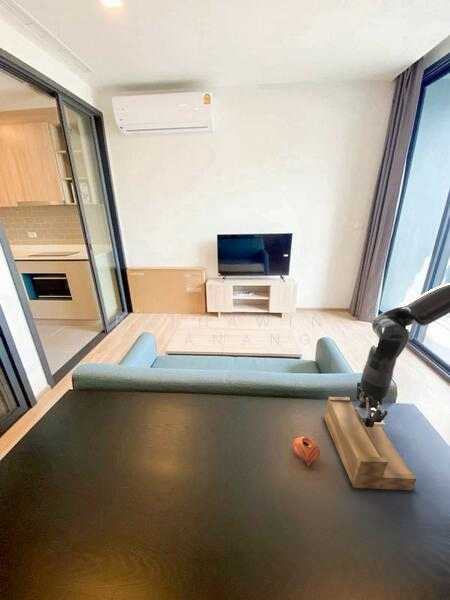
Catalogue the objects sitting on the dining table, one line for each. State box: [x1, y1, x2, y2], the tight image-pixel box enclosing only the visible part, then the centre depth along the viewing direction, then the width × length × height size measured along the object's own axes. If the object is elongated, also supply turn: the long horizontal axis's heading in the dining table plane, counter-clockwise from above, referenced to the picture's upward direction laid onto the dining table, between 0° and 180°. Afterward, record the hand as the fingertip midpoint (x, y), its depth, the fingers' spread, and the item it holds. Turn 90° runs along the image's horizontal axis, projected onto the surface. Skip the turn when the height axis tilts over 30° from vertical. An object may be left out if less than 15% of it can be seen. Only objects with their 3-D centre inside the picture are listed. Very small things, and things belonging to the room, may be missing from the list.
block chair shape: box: [354, 406, 387, 428], centre depth 80 cm, size 8×4×4 cm, turn 88°
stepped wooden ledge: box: [323, 396, 417, 491], centre depth 77 cm, size 16×23×11 cm
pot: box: [292, 436, 321, 467], centre depth 75 cm, size 8×8×7 cm
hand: (364, 419), depth 81 cm, fingers closed on block chair shape, 4 cm apart
